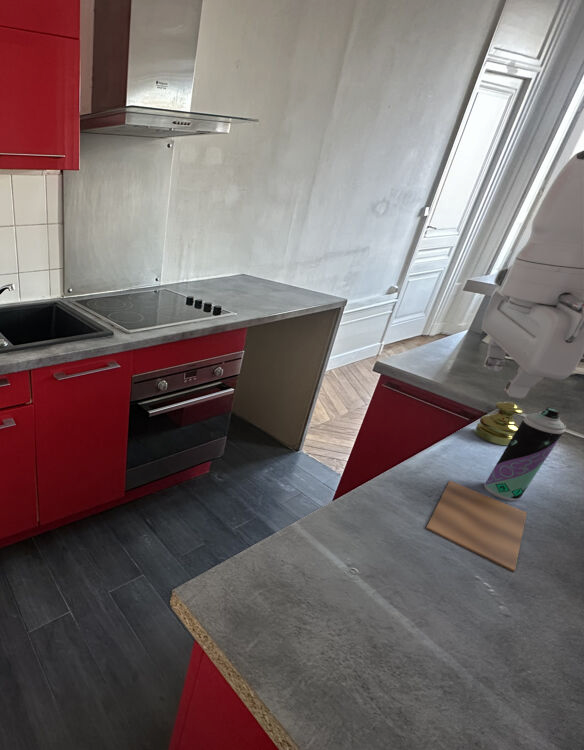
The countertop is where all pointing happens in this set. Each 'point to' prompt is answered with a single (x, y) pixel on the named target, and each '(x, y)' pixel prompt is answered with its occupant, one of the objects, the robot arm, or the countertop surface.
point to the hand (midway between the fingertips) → (501, 381)
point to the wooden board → (479, 524)
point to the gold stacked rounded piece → (499, 424)
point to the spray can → (525, 454)
